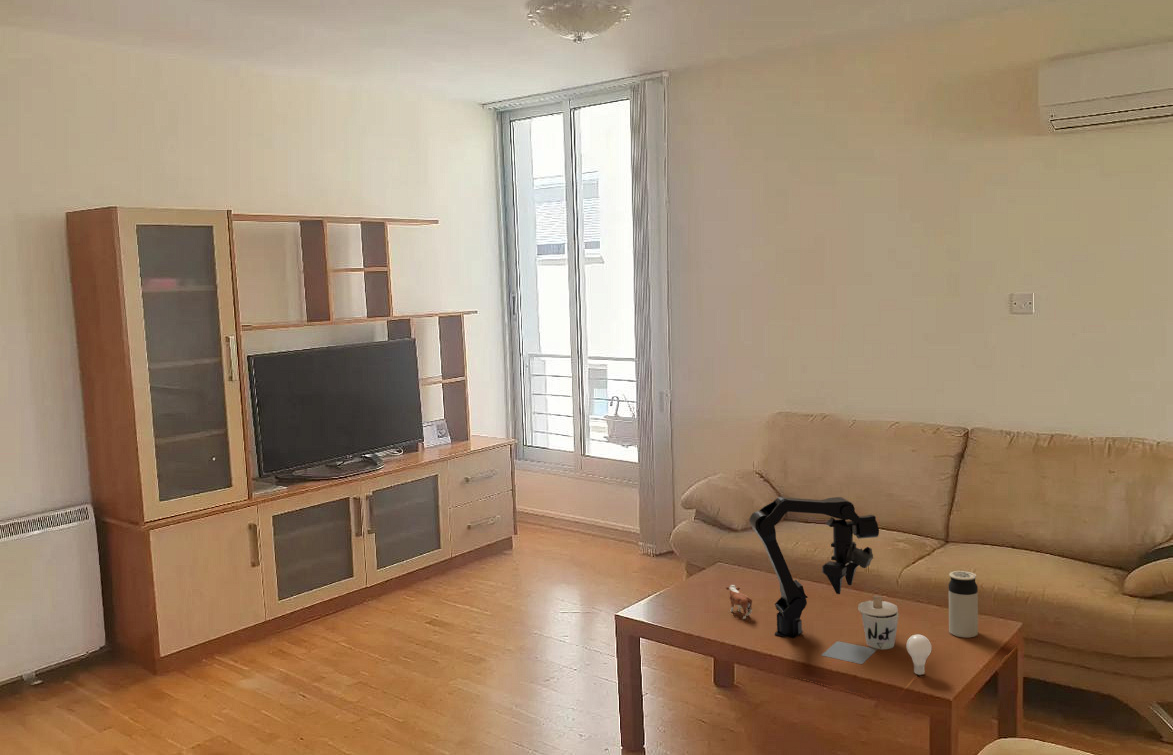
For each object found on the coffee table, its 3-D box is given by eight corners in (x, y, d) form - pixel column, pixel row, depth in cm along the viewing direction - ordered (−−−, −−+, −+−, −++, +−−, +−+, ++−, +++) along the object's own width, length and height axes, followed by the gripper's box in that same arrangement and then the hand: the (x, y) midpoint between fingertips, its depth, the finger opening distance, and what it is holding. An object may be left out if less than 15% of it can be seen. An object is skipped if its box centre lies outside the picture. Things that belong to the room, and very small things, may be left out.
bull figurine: (735, 606, 306) (734, 582, 305) (755, 619, 293) (754, 594, 292) (723, 608, 304) (723, 584, 304) (743, 621, 292) (742, 596, 291)
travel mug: (954, 638, 270) (954, 579, 268) (945, 628, 278) (944, 570, 276) (982, 637, 269) (981, 578, 268) (971, 627, 277) (971, 569, 276)
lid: (852, 612, 268) (852, 599, 268) (866, 600, 277) (866, 588, 276) (889, 619, 261) (889, 606, 261) (903, 607, 270) (902, 594, 269)
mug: (862, 651, 264) (862, 617, 263) (860, 631, 279) (859, 600, 278) (900, 653, 262) (900, 619, 261) (896, 633, 276) (896, 601, 275)
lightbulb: (906, 678, 245) (905, 638, 244) (907, 668, 251) (906, 629, 250) (931, 680, 243) (931, 640, 242) (931, 671, 249) (931, 631, 248)
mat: (821, 656, 262) (821, 655, 262) (837, 642, 271) (837, 641, 271) (862, 665, 255) (862, 664, 255) (877, 650, 264) (877, 649, 264)
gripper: (857, 551, 266) (858, 603, 268) (880, 535, 281) (880, 584, 283) (821, 546, 273) (822, 596, 275) (845, 530, 288) (846, 579, 289)
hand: (844, 589), depth 280 cm, fingers open, 9 cm apart
